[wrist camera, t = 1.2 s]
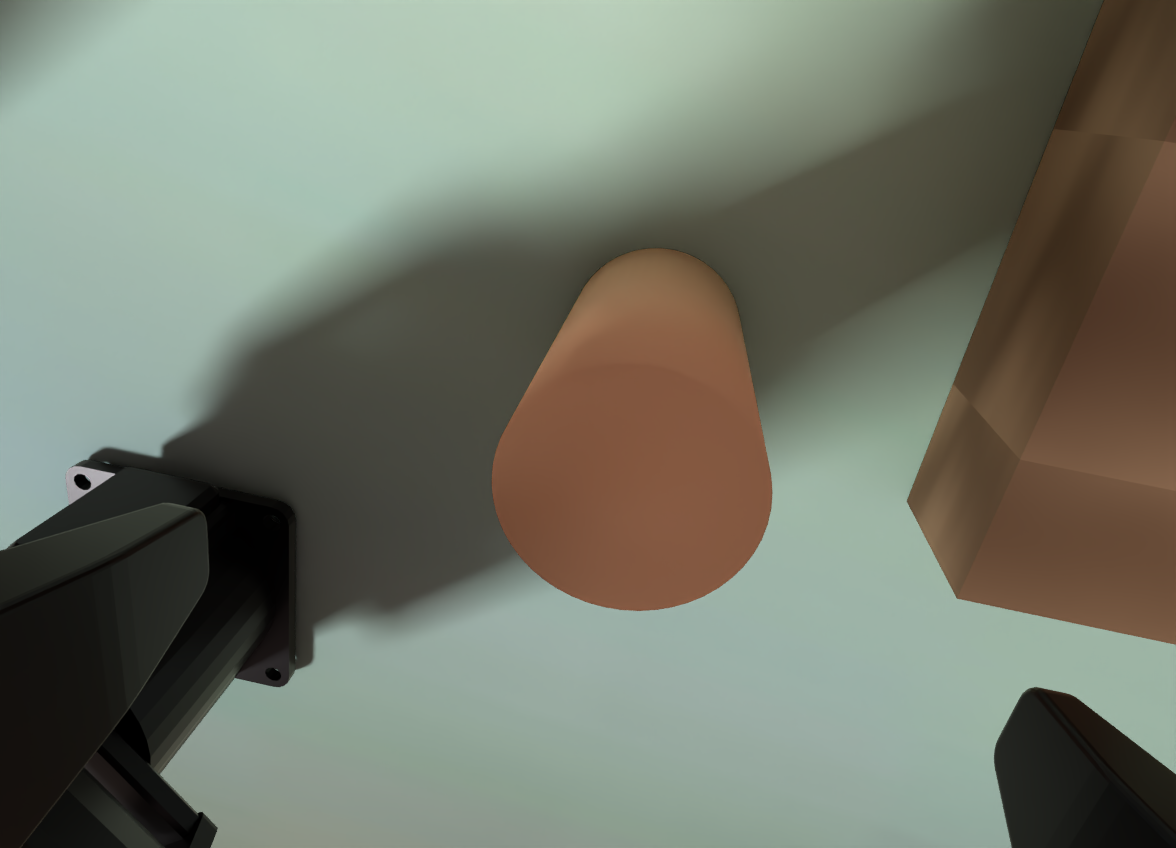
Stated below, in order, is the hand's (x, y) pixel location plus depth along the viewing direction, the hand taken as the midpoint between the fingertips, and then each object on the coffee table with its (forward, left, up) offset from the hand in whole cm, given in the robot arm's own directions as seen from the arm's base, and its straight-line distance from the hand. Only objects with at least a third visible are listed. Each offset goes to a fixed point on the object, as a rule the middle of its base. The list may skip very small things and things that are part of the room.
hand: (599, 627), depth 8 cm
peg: (0, 0, -11) cm, 11 cm away
